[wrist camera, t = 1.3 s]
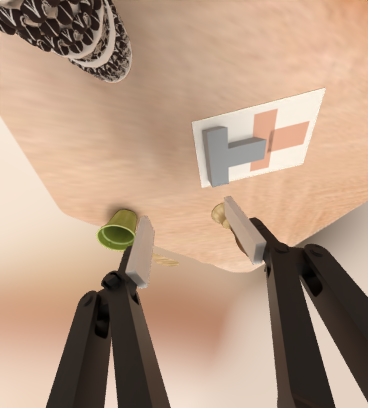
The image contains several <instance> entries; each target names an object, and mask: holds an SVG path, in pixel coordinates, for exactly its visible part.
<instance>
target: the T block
mask: <svg viewBox="0 0 368 408" xmlns="http://www.w3.org/2000/svg"><path fill="white" fill-rule="evenodd" d="M202 134H203V142H204V151H205V159H206V167H207V176H208V181H209V182H210V184H211V186H212V187H216V186H220V185H224V184H229V169H228V168H229V167H233V166H237V165H241V164H245V163H250V162H254V161H258V160H262V159H264V156H265V149H266V141H267V139H262V138H258V137H252V138H248V139H244V140H240V141H236V142H232V143H228V127H224V126H217V127H213V128H210V129H206V130H202Z"/></svg>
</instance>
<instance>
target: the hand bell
mask: <svg viewBox="0 0 368 408" xmlns="http://www.w3.org/2000/svg"><path fill="white" fill-rule="evenodd" d="M212 218H213V220H214V221H215V222H217V223H221V224H222V225H223V227H224V228H226V229H231V231H232V232H233V234H234V236H235V239H236V243H237V245H238V247H239V248H240V250H241V251H242V252H244V253H245V254H246V252H245V250H244V248H243V247H242V245H241V243H240V241H239V239H238V238H237V236H236V234H235V232H234V231H233V229H232V227H231V225H230V224H229V222H228V220H227V218H226V217H225V206H224V203H221V204H219V205H218V206H216V207H215V208H214V210H213V211H212ZM246 255H247V254H246ZM247 256H248V255H247Z"/></svg>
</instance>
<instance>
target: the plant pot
mask: <svg viewBox="0 0 368 408" xmlns="http://www.w3.org/2000/svg"><path fill="white" fill-rule="evenodd" d="M136 222H137V217H136V215H135V214H134V213H133V212H132V211H128V210H120V211H118V212H117V213H116V214H115V215H114V216H113V218H112V219H111V220H110V221H109V222H108V223H107V224H106V225H105V226H103V227H101V228H100V229H99V230H98V231H97V234H96V237H97V240H98V242H99V243H100V244H101V245H103V246H104V247H106V248H108V249H111V250H115V251H125V250H126V248H127V247H128V246H131V245H133V243H134V239H135V236H136V233H135V230H136Z"/></svg>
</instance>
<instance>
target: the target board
mask: <svg viewBox="0 0 368 408" xmlns="http://www.w3.org/2000/svg"><path fill="white" fill-rule="evenodd" d="M325 89H326V88H322V89H319V90H315V91H311V92H307V93H303V94H299V95H295V96H291V97H287V98H284V99H280V100H276V101H272V102H268V103H264V104H260V105H256V106H252V107H249V108H245V109H241V110H237V111H233V112H229V113H225V114H221V115H217V116H213V117H210V118H206V119H202V120H198V121H194V122H192V129H193V135H194V142H195V148H196V155H197V161H198V168H199V174H200V181H201V187H202V188H204V187H208V186H211V184H210V182H209V181H208V176H207V167H206V159H205V151H204V142H203V134H202V130H206V129H210V128H213V127H217V126H224V127H228V143H232V142H236V141H240V140H244V139H248V138H252V137H258V138H262V139H267V141H266V149H265V156H264V159H262V160H258V161H254V162H250V163H245V164H241V165H237V166H233V167H229V168H228V169H229V181H234V180H238V179H242V178H246V177H251V176H255V175H259V174H263V173H267V172H272V171H276V170H280V169H284V168H289V167H293V166H297V165H301V164H303V162H304V158H305V155H306V152H307V148H308V145H309V142H310V138H311V135H312V132H313V128H314V125H315V122H316V119H317V115H318V112H319V109H320V105H321V102H322V99H323V95H324V92H325Z"/></svg>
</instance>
